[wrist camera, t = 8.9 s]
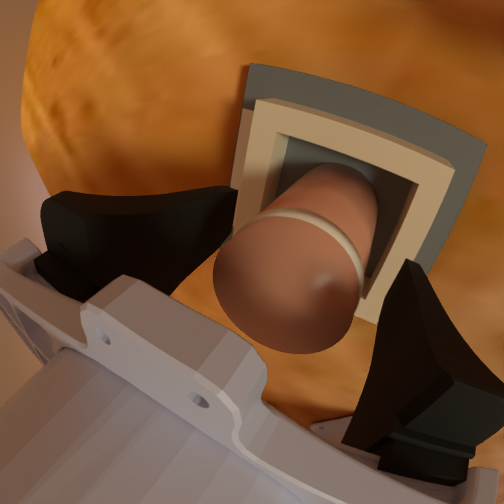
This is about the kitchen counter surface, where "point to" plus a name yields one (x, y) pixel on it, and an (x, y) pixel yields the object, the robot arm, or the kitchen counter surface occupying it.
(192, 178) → the kitchen counter surface
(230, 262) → the tube
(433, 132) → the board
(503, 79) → the kitchen counter surface
